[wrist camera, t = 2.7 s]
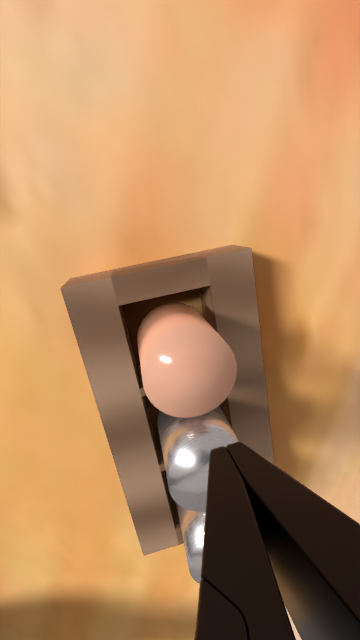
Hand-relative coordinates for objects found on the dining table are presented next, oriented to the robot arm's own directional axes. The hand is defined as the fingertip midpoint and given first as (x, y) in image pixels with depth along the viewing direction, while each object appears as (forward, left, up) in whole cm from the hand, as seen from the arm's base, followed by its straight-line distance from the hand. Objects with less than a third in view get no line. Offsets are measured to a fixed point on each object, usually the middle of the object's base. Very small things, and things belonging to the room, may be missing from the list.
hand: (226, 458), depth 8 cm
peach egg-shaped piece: (0, 0, -9) cm, 9 cm away
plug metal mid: (-5, 0, -10) cm, 11 cm away
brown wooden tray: (-6, 0, -12) cm, 13 cm away
